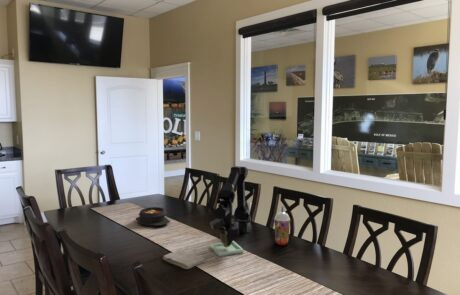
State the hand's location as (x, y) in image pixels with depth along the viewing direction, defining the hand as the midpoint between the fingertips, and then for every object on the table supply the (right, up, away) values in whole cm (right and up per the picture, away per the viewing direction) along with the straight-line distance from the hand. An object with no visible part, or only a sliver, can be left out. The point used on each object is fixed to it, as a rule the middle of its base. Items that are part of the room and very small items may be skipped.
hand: (226, 243), depth 187 cm
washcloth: (-20, -6, -13) cm, 25 cm away
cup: (0, -2, 0) cm, 2 cm away
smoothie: (+30, -3, +10) cm, 31 cm away
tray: (0, -4, 0) cm, 4 cm away
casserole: (-47, +1, +45) cm, 65 cm away
